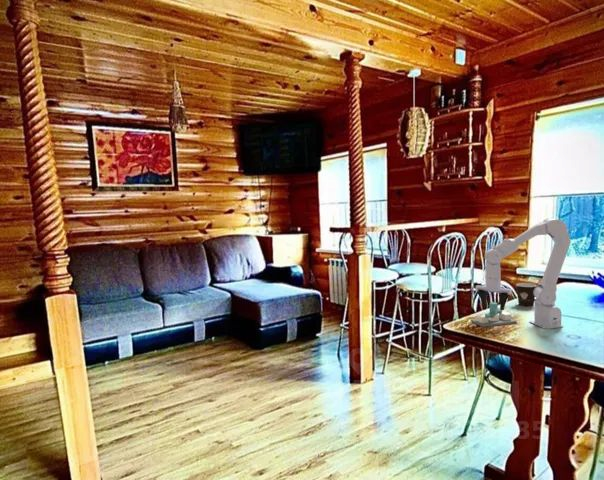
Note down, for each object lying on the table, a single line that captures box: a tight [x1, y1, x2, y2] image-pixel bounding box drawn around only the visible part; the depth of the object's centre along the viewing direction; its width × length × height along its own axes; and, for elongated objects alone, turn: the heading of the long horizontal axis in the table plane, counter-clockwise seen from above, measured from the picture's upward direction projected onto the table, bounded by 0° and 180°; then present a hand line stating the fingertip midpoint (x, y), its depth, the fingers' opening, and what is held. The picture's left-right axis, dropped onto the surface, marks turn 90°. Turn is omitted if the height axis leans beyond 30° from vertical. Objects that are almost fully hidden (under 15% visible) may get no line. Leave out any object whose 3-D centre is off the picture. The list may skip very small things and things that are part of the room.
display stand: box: [470, 311, 518, 328], centre depth 170 cm, size 16×8×4 cm, turn 100°
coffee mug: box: [515, 282, 537, 308], centre depth 192 cm, size 12×9×10 cm
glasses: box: [484, 301, 503, 318], centre depth 170 cm, size 13×4×5 cm, turn 132°
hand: (493, 308), depth 170 cm, fingers open, 7 cm apart
